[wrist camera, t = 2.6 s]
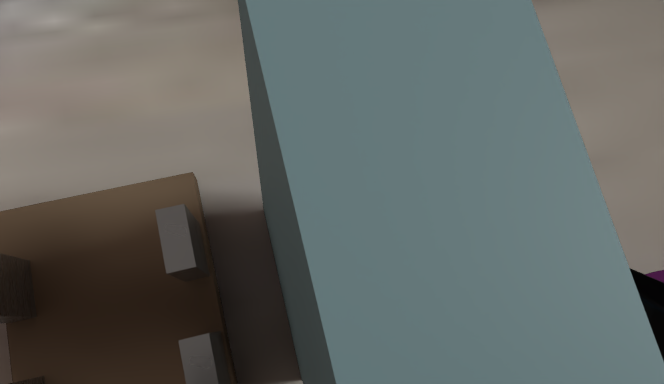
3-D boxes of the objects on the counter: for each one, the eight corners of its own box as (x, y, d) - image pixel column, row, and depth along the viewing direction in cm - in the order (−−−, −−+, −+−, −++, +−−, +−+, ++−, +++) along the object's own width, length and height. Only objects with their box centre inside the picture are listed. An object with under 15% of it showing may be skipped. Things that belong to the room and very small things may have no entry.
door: (386, 356, 18) (698, 455, 5) (301, 379, 18) (377, 561, 4) (341, 184, 20) (485, -125, 6) (262, 201, 19) (224, -90, 6)
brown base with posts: (248, 441, 17) (240, 475, 13) (41, 500, 16) (-32, 556, 12) (196, 179, 19) (176, 143, 15) (8, 218, 18) (-64, 190, 14)
